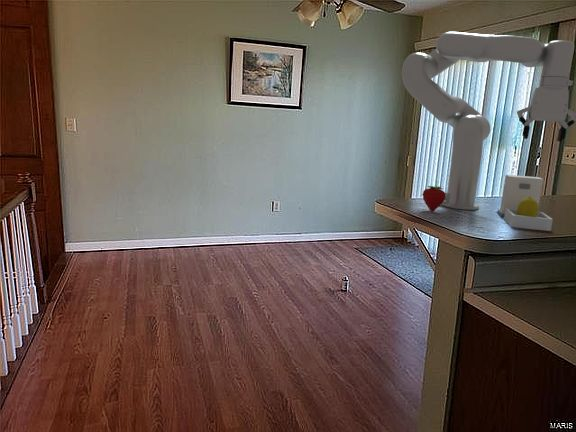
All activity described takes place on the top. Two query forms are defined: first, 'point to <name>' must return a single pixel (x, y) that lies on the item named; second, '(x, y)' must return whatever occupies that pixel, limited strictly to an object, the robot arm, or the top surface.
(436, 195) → the strawberry
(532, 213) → the lemon
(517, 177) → the block
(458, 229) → the top surface
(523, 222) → the tray
